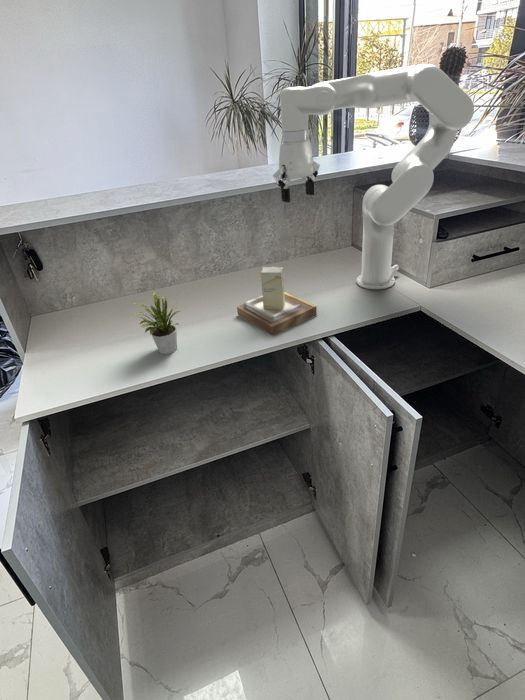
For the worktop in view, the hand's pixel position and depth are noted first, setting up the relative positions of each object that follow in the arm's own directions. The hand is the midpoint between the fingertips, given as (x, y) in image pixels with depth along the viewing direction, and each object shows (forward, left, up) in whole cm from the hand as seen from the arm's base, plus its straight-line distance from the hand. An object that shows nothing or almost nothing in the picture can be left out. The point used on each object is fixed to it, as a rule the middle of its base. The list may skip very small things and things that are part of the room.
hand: (298, 198), depth 134 cm
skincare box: (+19, +9, -27) cm, 34 cm away
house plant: (+53, +1, -31) cm, 61 cm away
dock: (+19, +9, -30) cm, 37 cm away
